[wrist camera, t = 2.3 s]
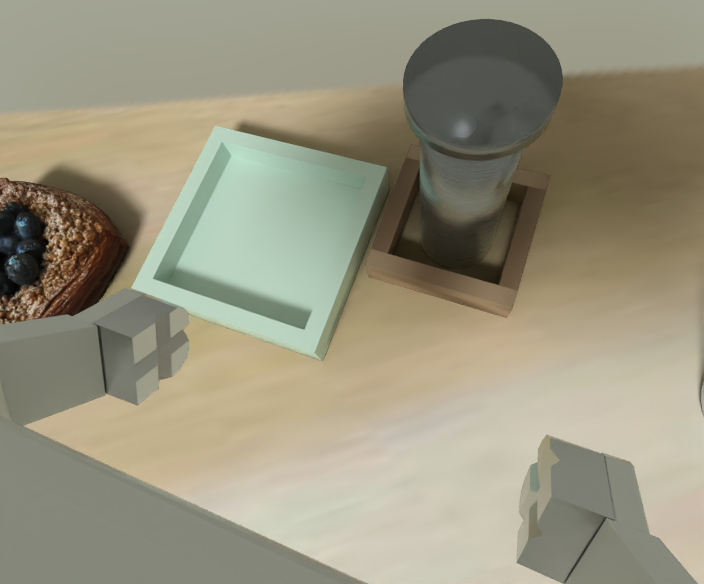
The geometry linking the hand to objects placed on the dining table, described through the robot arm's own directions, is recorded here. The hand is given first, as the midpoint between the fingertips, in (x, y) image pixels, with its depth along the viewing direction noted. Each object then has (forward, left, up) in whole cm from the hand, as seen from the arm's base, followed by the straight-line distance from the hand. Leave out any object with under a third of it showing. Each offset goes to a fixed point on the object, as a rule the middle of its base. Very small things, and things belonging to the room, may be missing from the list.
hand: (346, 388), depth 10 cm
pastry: (+26, -1, -17) cm, 31 cm away
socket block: (0, -12, -17) cm, 21 cm away
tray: (+11, -8, -17) cm, 22 cm away
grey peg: (0, -12, -17) cm, 21 cm away
